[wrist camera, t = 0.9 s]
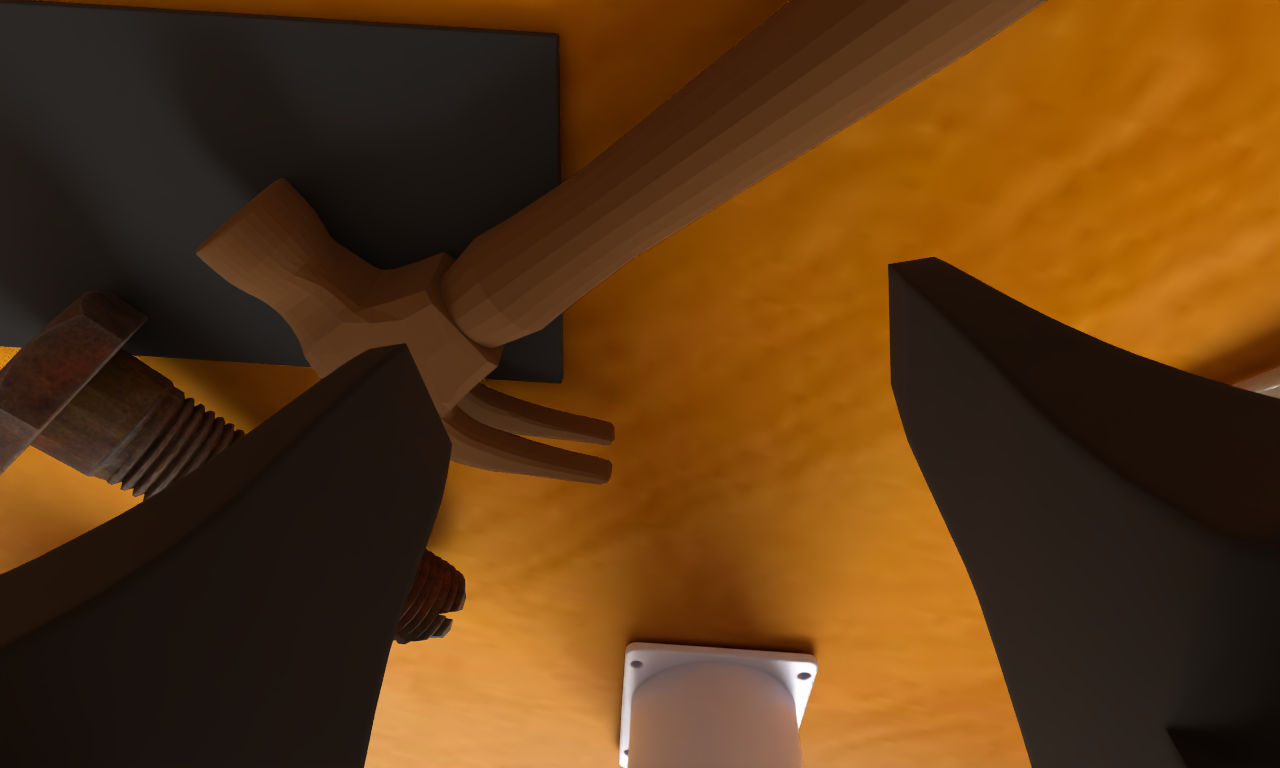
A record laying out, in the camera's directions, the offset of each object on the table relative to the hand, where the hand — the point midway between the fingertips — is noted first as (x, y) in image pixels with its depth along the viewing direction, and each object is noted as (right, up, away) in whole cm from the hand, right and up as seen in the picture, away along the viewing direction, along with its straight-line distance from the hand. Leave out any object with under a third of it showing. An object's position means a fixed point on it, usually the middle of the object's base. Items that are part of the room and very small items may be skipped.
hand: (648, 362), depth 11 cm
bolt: (-12, -3, +15) cm, 19 cm away
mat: (-12, +5, +10) cm, 16 cm away
